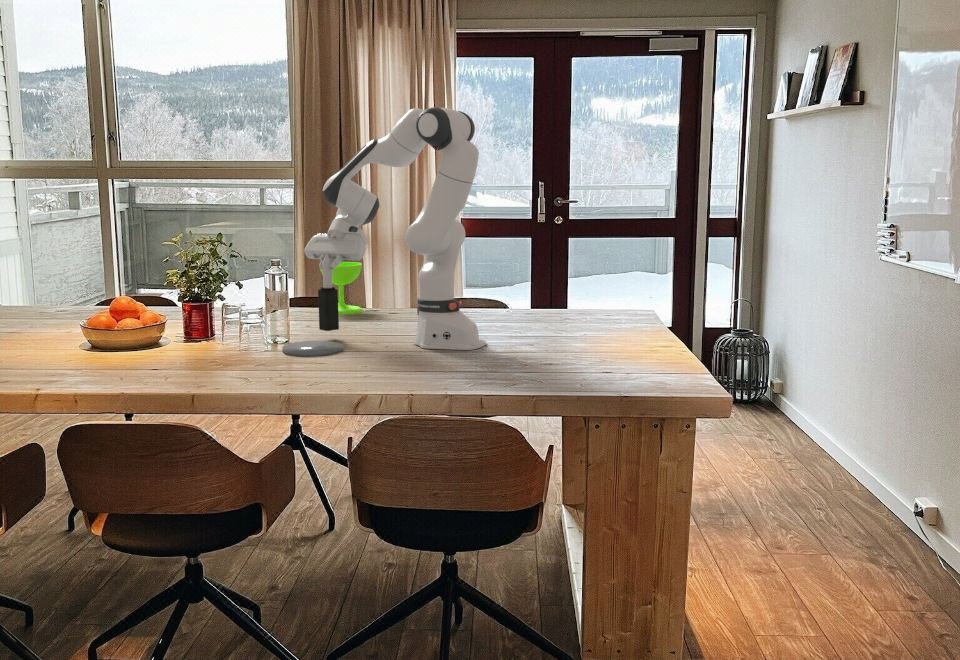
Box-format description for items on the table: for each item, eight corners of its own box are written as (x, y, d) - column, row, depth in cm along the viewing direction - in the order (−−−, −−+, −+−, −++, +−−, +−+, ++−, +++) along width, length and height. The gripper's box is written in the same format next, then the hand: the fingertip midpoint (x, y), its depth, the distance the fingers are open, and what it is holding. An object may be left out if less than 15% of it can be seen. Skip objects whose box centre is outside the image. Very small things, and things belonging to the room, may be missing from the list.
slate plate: (354, 347, 284) (353, 343, 284) (323, 358, 267) (323, 354, 267) (303, 342, 290) (303, 339, 290) (270, 353, 274) (270, 349, 274)
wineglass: (356, 315, 344) (354, 266, 341) (314, 313, 346) (313, 265, 343) (367, 308, 359) (366, 262, 356) (328, 307, 362) (326, 261, 359)
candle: (327, 331, 292) (324, 252, 288) (317, 329, 296) (315, 251, 292) (340, 329, 296) (338, 251, 292) (330, 327, 299) (328, 250, 295)
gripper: (309, 227, 300) (294, 260, 293) (365, 228, 293) (350, 262, 285) (317, 240, 305) (302, 273, 298) (372, 241, 298) (358, 275, 290)
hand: (326, 268), depth 292 cm, fingers closed on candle, 2 cm apart
